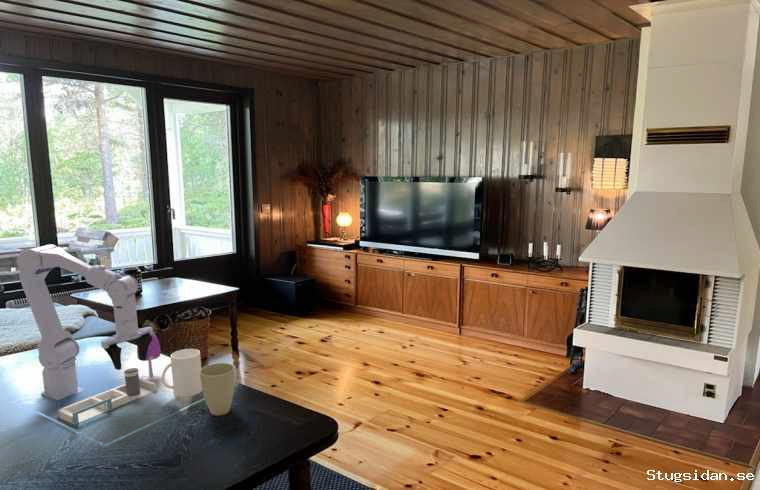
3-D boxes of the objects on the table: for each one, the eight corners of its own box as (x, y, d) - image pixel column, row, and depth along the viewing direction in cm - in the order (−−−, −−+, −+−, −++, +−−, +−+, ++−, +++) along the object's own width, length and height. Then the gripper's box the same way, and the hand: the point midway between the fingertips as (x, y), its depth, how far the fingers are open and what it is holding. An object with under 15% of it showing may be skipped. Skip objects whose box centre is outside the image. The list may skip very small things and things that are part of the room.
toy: (166, 374, 168) (163, 329, 166) (148, 382, 162) (143, 335, 160) (154, 370, 172) (150, 326, 169) (135, 377, 166) (130, 332, 164)
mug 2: (246, 409, 144) (244, 367, 142) (213, 422, 136) (210, 379, 135) (225, 397, 151) (222, 357, 149) (192, 409, 144) (189, 368, 142)
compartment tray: (58, 419, 140) (56, 405, 139) (141, 386, 160) (140, 373, 159) (75, 427, 135) (73, 413, 135) (158, 392, 155) (157, 379, 155)
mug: (169, 405, 147) (166, 364, 145) (157, 396, 153) (153, 357, 151) (209, 391, 155) (206, 353, 153) (195, 383, 161) (192, 346, 159)
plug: (123, 394, 153) (121, 371, 152) (135, 389, 156) (133, 367, 155) (131, 397, 151) (128, 374, 150) (143, 392, 154) (140, 369, 153)
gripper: (109, 328, 142) (114, 376, 144) (157, 314, 154) (161, 358, 156) (95, 324, 146) (100, 370, 148) (143, 311, 158) (147, 354, 160)
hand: (130, 364), depth 152 cm, fingers open, 7 cm apart
